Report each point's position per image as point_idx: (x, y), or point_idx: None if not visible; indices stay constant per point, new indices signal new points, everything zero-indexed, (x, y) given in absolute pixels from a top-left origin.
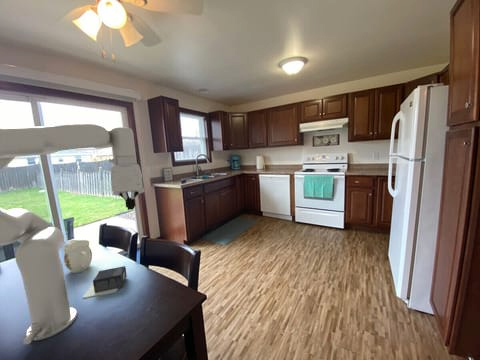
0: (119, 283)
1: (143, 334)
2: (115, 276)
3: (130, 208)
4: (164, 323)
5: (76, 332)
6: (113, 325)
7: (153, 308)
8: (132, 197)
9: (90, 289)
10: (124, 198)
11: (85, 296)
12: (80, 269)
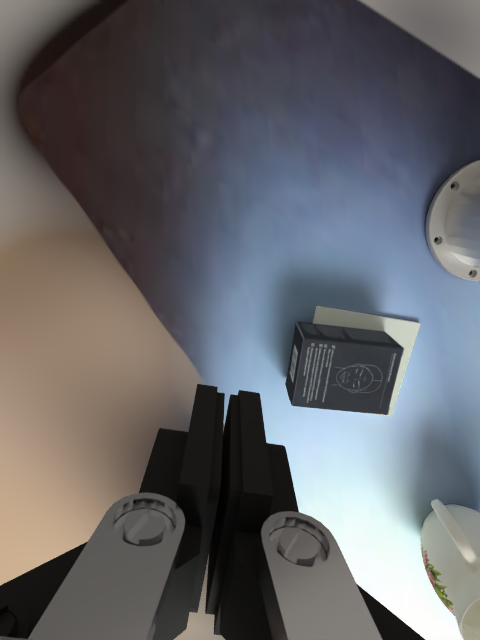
0: (307, 326)
1: (217, 9)
2: (324, 339)
3: (222, 396)
4: (149, 26)
5: (415, 140)
6: (311, 112)
7: (186, 133)
8: (142, 529)
9: (400, 362)
10: (320, 550)
11: (412, 325)
12: (449, 508)
